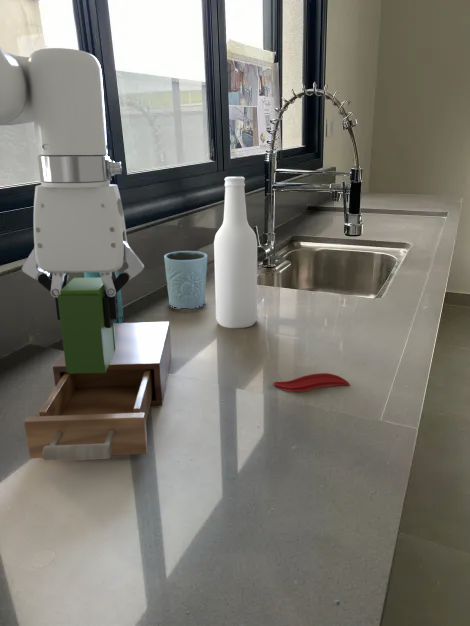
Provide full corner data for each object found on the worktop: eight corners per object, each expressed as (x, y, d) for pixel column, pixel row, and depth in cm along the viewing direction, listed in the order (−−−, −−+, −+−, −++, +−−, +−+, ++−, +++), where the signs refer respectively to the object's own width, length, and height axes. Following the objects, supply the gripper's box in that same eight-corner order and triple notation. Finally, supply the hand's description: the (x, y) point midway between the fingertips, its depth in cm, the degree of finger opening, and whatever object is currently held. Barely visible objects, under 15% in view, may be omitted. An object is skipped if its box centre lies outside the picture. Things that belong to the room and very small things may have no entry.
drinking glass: (186, 296, 126) (183, 249, 122) (217, 302, 120) (216, 253, 116) (157, 306, 118) (154, 256, 114) (190, 313, 112) (187, 261, 109)
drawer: (141, 478, 54) (138, 439, 53) (15, 483, 54) (8, 444, 52) (160, 389, 74) (158, 359, 73) (68, 393, 74) (64, 362, 72)
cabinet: (162, 406, 72) (159, 363, 69) (58, 410, 71) (52, 366, 69) (171, 357, 88) (169, 321, 86) (87, 360, 88) (83, 324, 86)
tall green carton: (66, 376, 60) (57, 292, 56) (82, 352, 67) (74, 276, 64) (105, 375, 60) (97, 291, 57) (116, 351, 67) (110, 275, 64)
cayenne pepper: (271, 390, 76) (271, 379, 75) (273, 377, 80) (273, 366, 80) (351, 394, 74) (352, 383, 74) (349, 381, 78) (350, 370, 78)
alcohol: (248, 331, 101) (247, 178, 91) (209, 326, 104) (204, 178, 94) (262, 318, 108) (263, 175, 99) (225, 313, 112) (222, 175, 102)
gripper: (153, 171, 60) (160, 314, 66) (11, 171, 59) (30, 316, 65) (146, 174, 53) (154, 334, 59) (-16, 174, 52) (8, 336, 58)
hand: (89, 323), depth 62 cm, fingers closed on tall green carton, 4 cm apart
